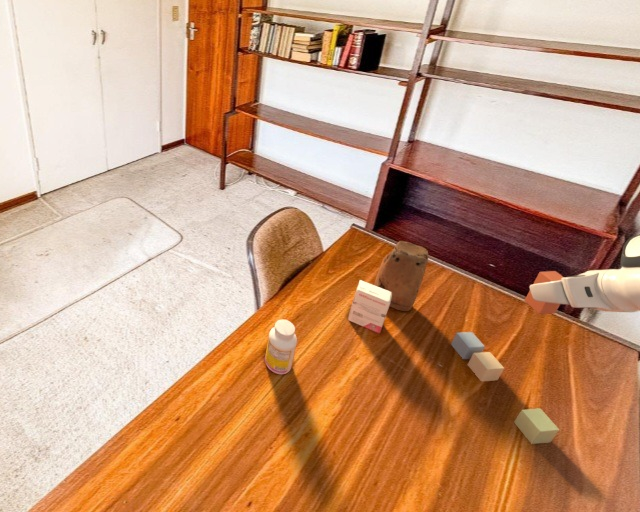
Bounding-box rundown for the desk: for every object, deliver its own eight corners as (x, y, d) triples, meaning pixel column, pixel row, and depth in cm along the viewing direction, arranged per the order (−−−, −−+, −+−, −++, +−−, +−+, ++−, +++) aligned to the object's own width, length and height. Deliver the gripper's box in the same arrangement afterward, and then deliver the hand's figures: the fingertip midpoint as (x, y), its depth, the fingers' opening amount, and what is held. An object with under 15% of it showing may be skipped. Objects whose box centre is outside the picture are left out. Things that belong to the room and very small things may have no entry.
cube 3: (466, 343, 106) (471, 331, 104) (478, 358, 102) (485, 346, 100) (450, 344, 106) (456, 332, 104) (462, 359, 102) (469, 347, 100)
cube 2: (483, 363, 101) (489, 351, 99) (497, 380, 97) (504, 368, 95) (467, 364, 101) (473, 352, 99) (480, 381, 96) (487, 369, 95)
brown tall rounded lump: (410, 299, 120) (430, 247, 111) (410, 316, 114) (431, 262, 105) (372, 286, 125) (388, 234, 116) (370, 301, 118) (387, 249, 110)
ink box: (382, 322, 112) (393, 291, 106) (379, 335, 108) (391, 303, 103) (350, 309, 116) (359, 278, 111) (347, 320, 112) (356, 289, 107)
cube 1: (531, 420, 88) (540, 408, 86) (550, 442, 84) (559, 429, 82) (513, 422, 88) (521, 409, 86) (531, 444, 84) (540, 431, 82)
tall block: (539, 299, 105) (555, 270, 101) (555, 313, 101) (572, 283, 97) (524, 300, 105) (539, 271, 100) (539, 314, 101) (556, 284, 96)
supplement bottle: (276, 347, 103) (284, 311, 98) (296, 366, 98) (305, 330, 93) (258, 360, 99) (265, 323, 94) (278, 380, 95) (286, 343, 89)
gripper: (641, 273, 90) (579, 276, 103) (560, 277, 88) (507, 279, 101) (653, 303, 88) (588, 302, 101) (571, 308, 86) (515, 306, 99)
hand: (547, 291), depth 101 cm, fingers closed on tall block, 4 cm apart
